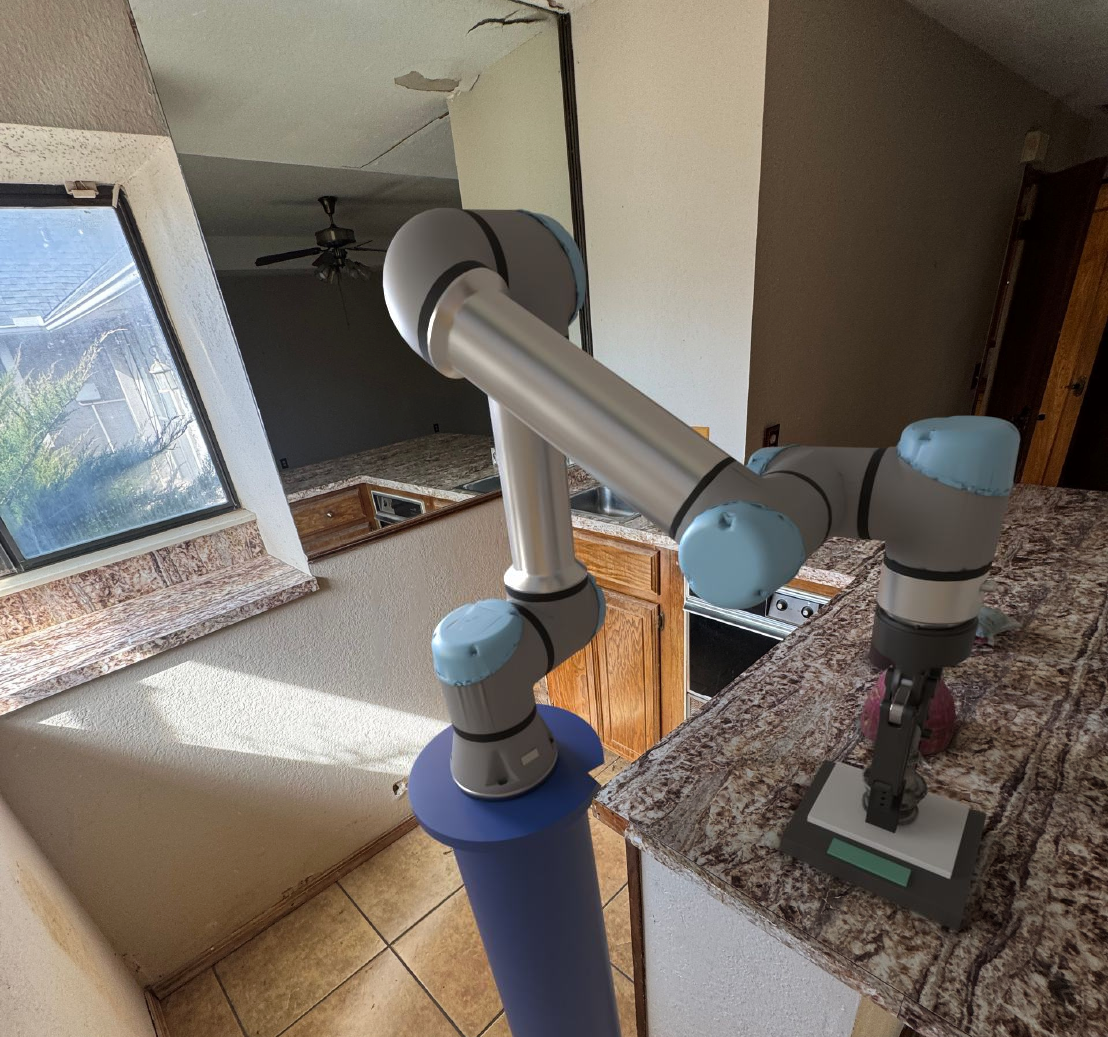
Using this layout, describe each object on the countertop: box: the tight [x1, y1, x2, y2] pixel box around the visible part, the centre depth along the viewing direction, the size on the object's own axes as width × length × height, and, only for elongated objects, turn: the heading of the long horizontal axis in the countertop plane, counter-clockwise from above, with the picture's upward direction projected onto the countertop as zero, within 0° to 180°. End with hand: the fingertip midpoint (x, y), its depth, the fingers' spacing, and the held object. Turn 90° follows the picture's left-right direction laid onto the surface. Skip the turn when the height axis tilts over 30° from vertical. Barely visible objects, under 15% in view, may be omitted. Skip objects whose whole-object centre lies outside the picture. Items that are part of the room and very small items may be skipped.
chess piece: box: [861, 725, 929, 826], centre depth 57 cm, size 6×6×12 cm
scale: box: [779, 759, 988, 932], centre depth 60 cm, size 16×14×3 cm
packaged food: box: [974, 604, 1023, 646], centre depth 91 cm, size 9×12×5 cm
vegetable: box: [860, 666, 957, 757], centre depth 70 cm, size 10×10×15 cm
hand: (889, 804), depth 60 cm, fingers closed on chess piece, 6 cm apart
